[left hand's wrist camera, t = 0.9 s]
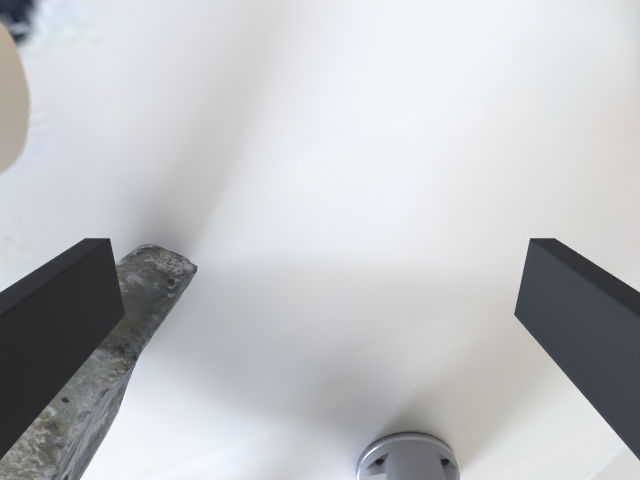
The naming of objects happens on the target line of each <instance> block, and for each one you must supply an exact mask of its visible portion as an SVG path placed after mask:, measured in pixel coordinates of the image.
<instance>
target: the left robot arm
mask: <svg viewBox="0 0 640 480" xmlns="http://www.w3.org/2000/svg"><path fill="white" fill-rule="evenodd" d="M125 315H126V313H125V309H124V304H123V299H122V294H121V290H120V285H119V280H118V275H117V270H116V266H115V261H114V256H113V251H112V247H111V242H110V238H85V239H84V240H82V241H80V242H79V243H77V244H76V245H74V246H73V247H71V248H69V249H68V250H66V251H65V252H63V253H62V254H60V255H58V256H57V257H55V258H54V259H52V260H51V261H49V262H47V263H46V264H44V265H43V266H41V267H40V268H38V269H36V270H35V271H33V272H32V273H30V274H29V275H27V276H25V277H24V278H22V279H21V280H19V281H18V282H16V283H14V284H13V285H11V286H10V287H8V288H7V289H5V290H3V291H2V292H0V460H1V459H2V458H3V457H4V455H5V454H6V453H7V452H8V451H9V450H10V448H11V447H12V446H13V445H14V444H15V443H16V441H17V440H18V439H19V438H20V437H21V436H22V435H23V433H24V432H25V431H26V430H27V429H28V428H29V426H30V425H31V424H32V423H33V422H34V421H35V419H36V418H37V417H38V416H39V415H40V414H41V412H42V411H43V410H44V409H45V408H46V407H47V405H48V404H49V403H50V402H51V401H52V400H53V399H54V397H55V396H56V395H57V394H58V393H59V392H60V390H61V389H62V388H63V387H64V386H65V385H66V383H67V382H68V381H69V380H70V379H71V378H72V376H73V375H74V374H75V373H76V372H77V371H78V369H79V368H80V367H81V366H82V365H83V364H84V363H85V361H86V360H87V359H88V358H89V357H90V356H91V354H92V353H93V352H94V351H95V350H96V349H97V347H98V346H99V345H100V344H101V343H102V342H103V340H104V339H105V338H106V337H107V336H108V335H109V333H110V332H111V331H112V330H113V329H114V328H115V326H116V325H117V324H118V323H119V322H120V321H121V320H122V318H123V317H124V316H125ZM514 315H515V316H516V317H517V318H518V320H519V321H520V322H521V323H522V324H523V325H524V326H525V328H526V329H527V330H528V331H529V332H530V333H531V335H532V336H533V337H534V338H535V339H536V340H537V342H538V343H539V344H540V345H541V346H542V347H543V349H544V350H545V351H546V352H547V353H548V354H549V356H550V357H551V358H552V359H553V360H554V361H555V363H556V364H557V365H558V366H559V367H560V368H561V369H562V371H563V372H564V373H565V374H566V375H567V376H568V378H569V379H570V380H571V381H572V382H573V383H574V385H575V386H576V387H577V388H578V389H579V390H580V392H581V393H582V394H583V395H584V396H585V397H586V399H587V400H588V401H589V402H590V403H591V404H592V405H593V407H594V408H595V409H596V410H597V411H598V412H599V414H600V415H601V416H602V417H603V418H604V419H605V421H606V422H607V423H608V424H609V425H610V426H611V428H612V429H613V430H614V431H615V432H616V433H617V435H618V436H619V437H620V438H621V439H622V440H623V441H624V443H625V444H626V445H627V446H628V447H629V448H630V450H631V451H632V452H633V453H634V454H635V455H636V457H637V458H638V459H639V460H640V292H638V291H637V290H635V289H633V288H632V287H630V286H629V285H627V284H626V283H624V282H622V281H621V280H619V279H618V278H616V277H615V276H613V275H611V274H610V273H608V272H607V271H605V270H604V269H602V268H600V267H599V266H597V265H596V264H594V263H593V262H591V261H589V260H588V259H586V258H585V257H583V256H582V255H580V254H578V253H577V252H575V251H574V250H572V249H571V248H569V247H567V246H566V245H564V244H563V243H561V242H560V241H558V240H556V239H555V238H530V242H529V247H528V251H527V256H526V261H525V266H524V270H523V275H522V280H521V285H520V290H519V294H518V299H517V304H516V309H515V313H514ZM357 480H460V476H459V470H458V465H457V462H456V460H455V457H454V455H453V453H452V451H451V449H450V448H449V447H448V446H447V445H446V444H445V443H443V442H442V441H440V440H439V439H437V438H435V437H432V436H430V435H426V434H421V433H399V434H394V435H390V436H387V437H385V438H382V439H380V440H378V441H376V442H375V443H373V444H372V445H371V446H369V447H368V448H367V449H366V450H365V452H364V453H363V454H362V456H361V457H360V459H359V462H358V465H357Z"/></svg>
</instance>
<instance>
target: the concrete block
mask: <svg viewBox="0 0 640 480" xmlns="http://www.w3.org/2000/svg"><path fill="white" fill-rule="evenodd" d="M115 266H116V270H117V275H118V280H119V285H120V290H121V294H122V299H123V304H124V309H125V313H126V315H125V316H124V317H123V318H122V320H121V321H120V322H119V323H118V324H117V325H116V326H115V328H114V329H113V330H112V331H111V332H110V333H109V335H108V336H107V337H106V338H105V339H104V340H103V342H102V343H101V344H100V345H99V346H98V347H97V349H96V350H95V351H94V352H93V353H92V354H91V356H90V357H89V358H88V359H87V360H86V361H85V363H84V364H83V365H82V366H81V367H80V368H79V369H78V371H77V372H76V373H75V374H74V375H73V376H72V378H71V379H70V380H69V381H68V382H67V383H66V385H65V386H64V387H63V388H62V389H61V390H60V392H59V393H58V394H57V395H56V396H55V397H54V399H53V400H52V401H51V402H50V403H49V404H48V405H47V407H46V408H45V409H44V410H43V411H42V412H41V414H40V415H39V416H38V417H37V418H36V419H35V421H34V422H33V423H32V424H31V425H30V426H29V428H28V429H27V430H26V431H25V432H24V433H23V435H22V436H21V437H20V438H19V439H18V440H17V441H16V443H15V444H14V445H13V446H12V447H11V448H10V450H9V451H8V452H7V453H6V454H5V455H4V457H3V458H2V459H1V460H0V480H80V478H81V477H82V475H83V473H84V472H85V470H86V468H87V467H88V465H89V463H90V462H91V460H92V458H93V456H94V455H95V453H96V451H97V449H98V448H99V446H100V445H101V443H102V441H103V439H104V438H105V436H106V434H107V432H108V430H109V429H110V427H111V425H112V423H113V421H114V419H115V417H116V415H117V413H118V411H119V408H120V405H121V402H122V400H123V396H124V393H125V390H126V387H127V385H128V382H129V379H130V377H131V374H132V371H133V369H134V367H135V365H136V362H137V360H138V358H139V356H140V354H141V352H142V351H143V349H144V348H145V346H146V345H147V343H148V342H149V340H150V339H151V337H152V336H153V334H154V333H155V332H156V330H157V329H158V327H159V326H160V324H161V323H162V322H163V320H164V319H165V318H166V316H167V315H168V314H169V312H170V311H171V309H172V308H173V306H174V305H175V304H176V302H177V301H178V299H179V298H180V297H181V295H182V293H183V292H184V290H185V289H186V288H187V287H188V285H189V284H190V282H191V280H192V278H193V277H194V275H195V273H196V272H197V266H195V265H194V264H192V263H191V262H190V261H189V260H188V259H187V258H186V257H183V256H181V255H179V254H176V253H174V252H171V251H168V250H166V249H163V248H161V247H158V246H156V245H152V244H147V245H141V246H139V247H137V248H136V249H135V250H134V251H132V252H131V253H129V254H128V255H127V256H125V257H124V258H123V259H122V260H121V261H120V262H119V263H117V264H116V265H115Z"/></svg>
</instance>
